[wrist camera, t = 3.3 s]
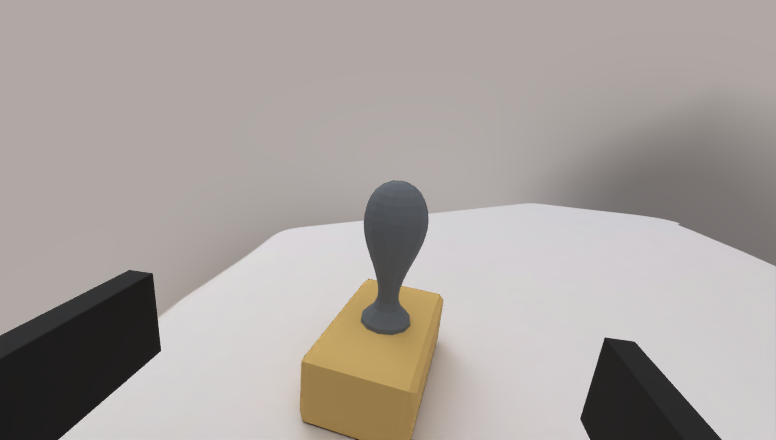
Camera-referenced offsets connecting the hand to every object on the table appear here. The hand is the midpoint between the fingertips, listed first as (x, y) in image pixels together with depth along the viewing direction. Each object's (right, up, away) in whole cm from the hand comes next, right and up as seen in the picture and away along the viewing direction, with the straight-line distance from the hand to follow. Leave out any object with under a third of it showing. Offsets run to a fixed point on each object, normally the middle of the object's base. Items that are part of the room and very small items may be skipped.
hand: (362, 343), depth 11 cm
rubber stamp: (0, -6, +12) cm, 13 cm away
